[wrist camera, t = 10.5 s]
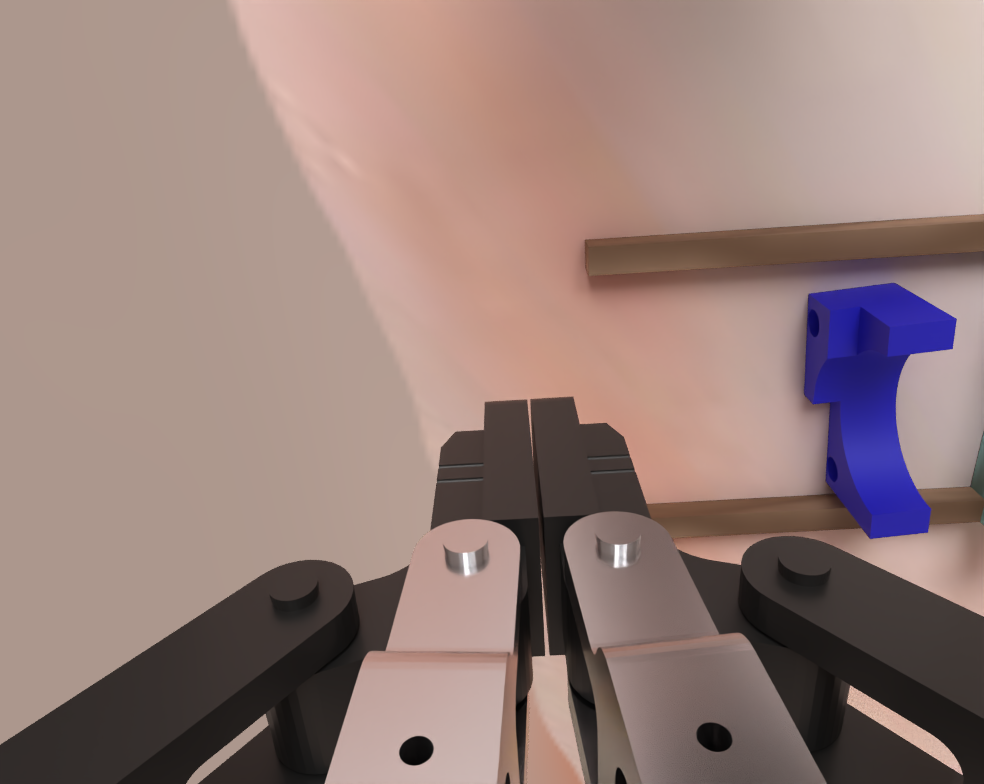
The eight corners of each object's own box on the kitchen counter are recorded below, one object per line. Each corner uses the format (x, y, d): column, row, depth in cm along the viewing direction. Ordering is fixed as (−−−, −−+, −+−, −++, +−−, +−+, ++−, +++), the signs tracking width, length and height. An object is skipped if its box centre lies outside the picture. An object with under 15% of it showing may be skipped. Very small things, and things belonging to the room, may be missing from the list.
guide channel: (585, 239, 38) (600, 271, 33) (1087, 207, 38) (1188, 234, 32) (588, 527, 46) (601, 592, 40) (1007, 505, 45) (1077, 567, 40)
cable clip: (807, 292, 40) (857, 331, 34) (892, 281, 39) (956, 319, 34) (798, 482, 45) (841, 541, 39) (874, 473, 44) (928, 532, 39)
